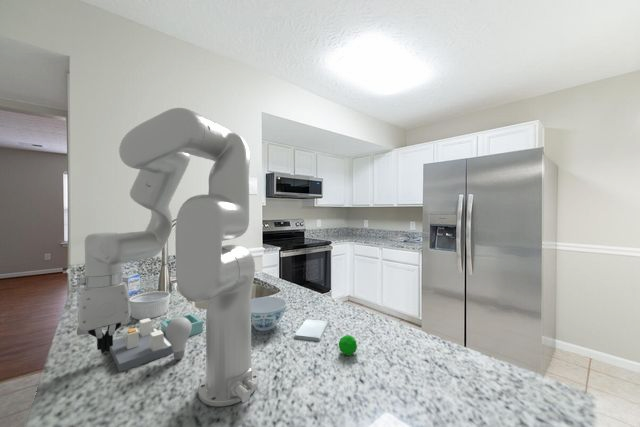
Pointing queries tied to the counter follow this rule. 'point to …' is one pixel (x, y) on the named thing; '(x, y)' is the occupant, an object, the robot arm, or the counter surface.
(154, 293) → the ramekin
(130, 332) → the block
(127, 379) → the counter surface
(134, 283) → the medicine box
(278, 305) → the chinaware
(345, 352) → the polyhedron
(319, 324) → the hard drive
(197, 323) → the socket
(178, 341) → the lightbulb
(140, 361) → the breaker panel
